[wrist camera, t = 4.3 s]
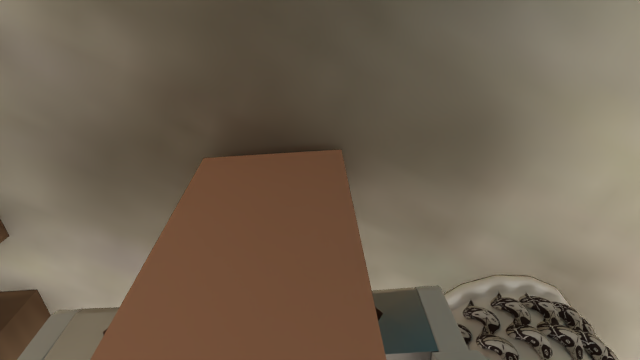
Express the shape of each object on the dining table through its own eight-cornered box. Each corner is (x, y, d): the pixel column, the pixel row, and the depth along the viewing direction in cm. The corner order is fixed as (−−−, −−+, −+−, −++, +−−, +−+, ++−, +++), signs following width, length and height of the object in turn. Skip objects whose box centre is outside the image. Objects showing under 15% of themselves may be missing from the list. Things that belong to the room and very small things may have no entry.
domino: (203, 158, 14) (66, 402, 6) (341, 149, 14) (390, 381, 6) (213, 205, 15) (107, 471, 7) (342, 196, 15) (387, 452, 7)
